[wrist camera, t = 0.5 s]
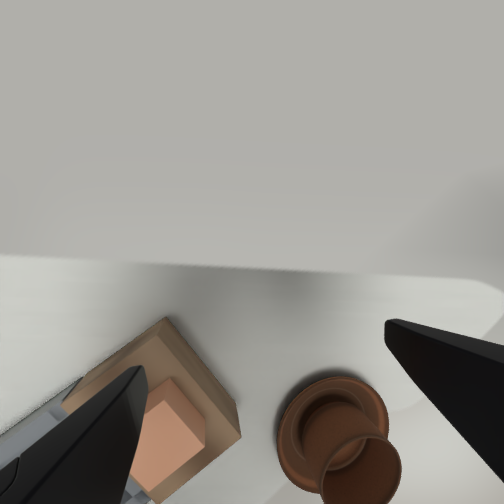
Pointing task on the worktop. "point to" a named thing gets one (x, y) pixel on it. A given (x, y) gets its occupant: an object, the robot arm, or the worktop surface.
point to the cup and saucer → (339, 443)
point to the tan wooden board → (186, 379)
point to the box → (37, 425)
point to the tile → (167, 435)
